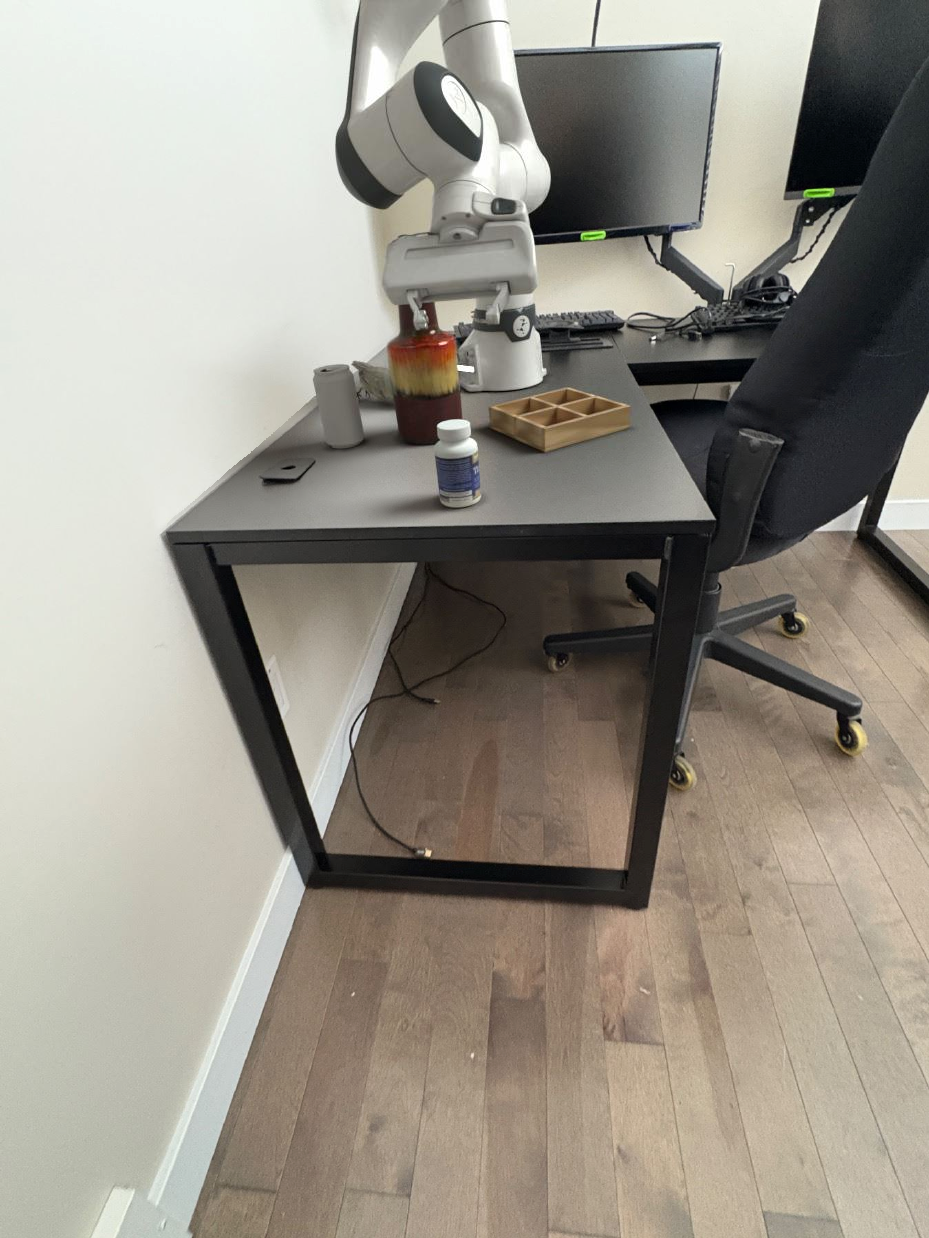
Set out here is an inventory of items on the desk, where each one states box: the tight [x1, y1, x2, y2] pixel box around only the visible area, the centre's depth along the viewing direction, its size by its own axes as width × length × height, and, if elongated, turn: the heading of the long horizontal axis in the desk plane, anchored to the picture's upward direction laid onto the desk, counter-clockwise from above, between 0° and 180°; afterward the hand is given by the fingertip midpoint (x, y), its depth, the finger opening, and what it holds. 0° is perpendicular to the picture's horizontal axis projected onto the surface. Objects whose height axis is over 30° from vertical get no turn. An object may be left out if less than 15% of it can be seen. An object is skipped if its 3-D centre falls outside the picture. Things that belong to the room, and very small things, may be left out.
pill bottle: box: [433, 419, 482, 508], centre depth 74 cm, size 5×5×10 cm
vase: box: [385, 302, 464, 446], centre depth 95 cm, size 11×11×20 cm
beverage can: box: [312, 363, 365, 449], centre depth 97 cm, size 6×6×12 cm
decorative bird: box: [351, 360, 394, 404], centre depth 117 cm, size 5×16×7 cm, turn 50°
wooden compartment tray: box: [488, 386, 631, 453], centre depth 96 cm, size 16×16×4 cm
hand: (455, 324), depth 76 cm, fingers open, 8 cm apart
